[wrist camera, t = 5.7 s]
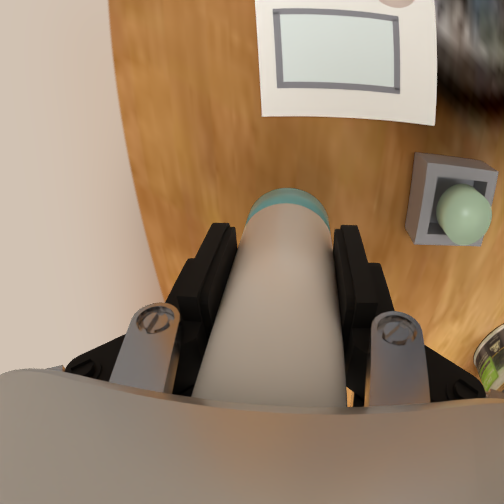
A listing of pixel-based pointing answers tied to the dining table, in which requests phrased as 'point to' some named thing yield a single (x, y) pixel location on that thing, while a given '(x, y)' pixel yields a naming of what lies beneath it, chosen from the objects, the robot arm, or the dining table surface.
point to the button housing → (434, 185)
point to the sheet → (348, 59)
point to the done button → (463, 214)
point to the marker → (279, 312)
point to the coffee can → (491, 360)
